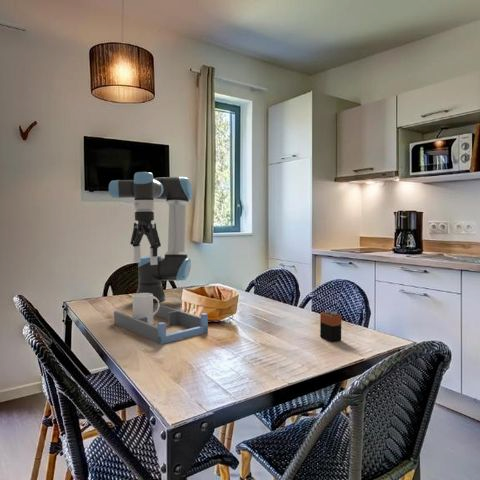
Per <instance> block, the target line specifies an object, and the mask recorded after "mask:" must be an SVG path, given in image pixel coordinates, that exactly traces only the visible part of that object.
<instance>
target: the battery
mask: <svg viewBox="0 0 480 480" xmlns="http://www.w3.org/2000/svg"><path fill="white" fill-rule="evenodd" d="M319 317H320V323H319V324H320V325H319V326H320V327H319V333H320V335H319V336H320V338H321V339H324V340H327V341H328V342H331V343H336V342H340V341H342V315H341V314H338V313H337V311H330V310H329V309H326V310H325V311H322V312H320V315H319Z"/></svg>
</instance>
